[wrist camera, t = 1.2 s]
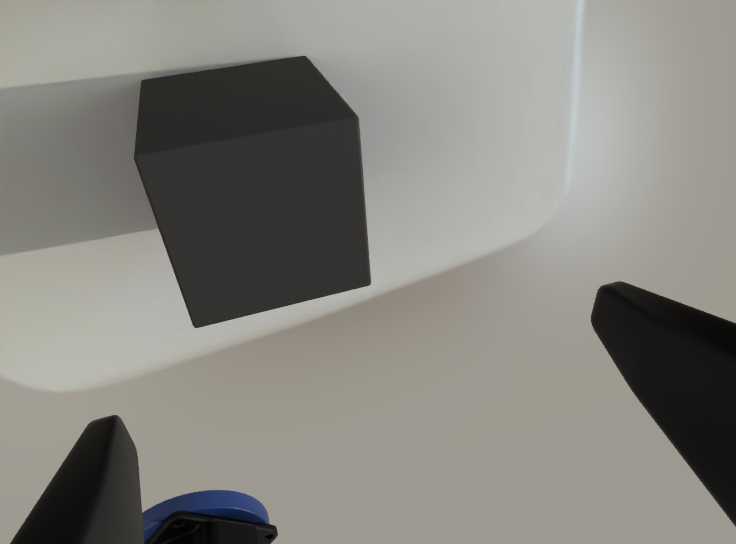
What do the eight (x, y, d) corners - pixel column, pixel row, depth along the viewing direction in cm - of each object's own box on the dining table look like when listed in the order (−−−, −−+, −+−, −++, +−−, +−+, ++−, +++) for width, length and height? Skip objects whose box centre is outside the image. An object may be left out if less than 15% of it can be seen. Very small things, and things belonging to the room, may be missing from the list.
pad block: (324, 195, 19) (372, 285, 15) (186, 224, 18) (194, 329, 14) (306, 54, 16) (359, 115, 12) (140, 79, 15) (132, 156, 11)
